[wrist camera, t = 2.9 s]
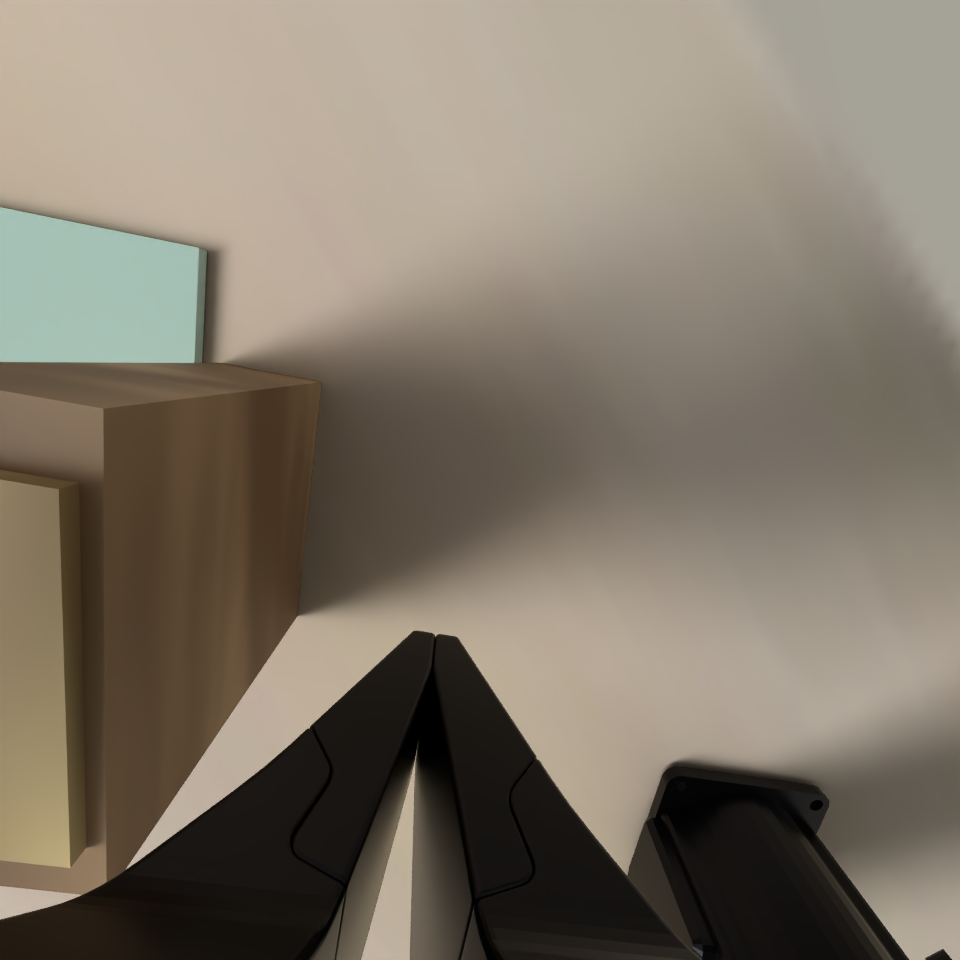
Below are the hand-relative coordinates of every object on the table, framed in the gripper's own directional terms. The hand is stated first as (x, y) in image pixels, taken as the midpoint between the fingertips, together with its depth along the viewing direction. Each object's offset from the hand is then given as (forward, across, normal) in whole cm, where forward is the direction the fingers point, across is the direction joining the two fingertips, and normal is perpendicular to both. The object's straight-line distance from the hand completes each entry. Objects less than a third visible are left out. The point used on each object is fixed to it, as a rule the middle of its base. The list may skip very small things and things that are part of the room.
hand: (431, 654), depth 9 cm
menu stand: (+7, +6, 0) cm, 9 cm away
